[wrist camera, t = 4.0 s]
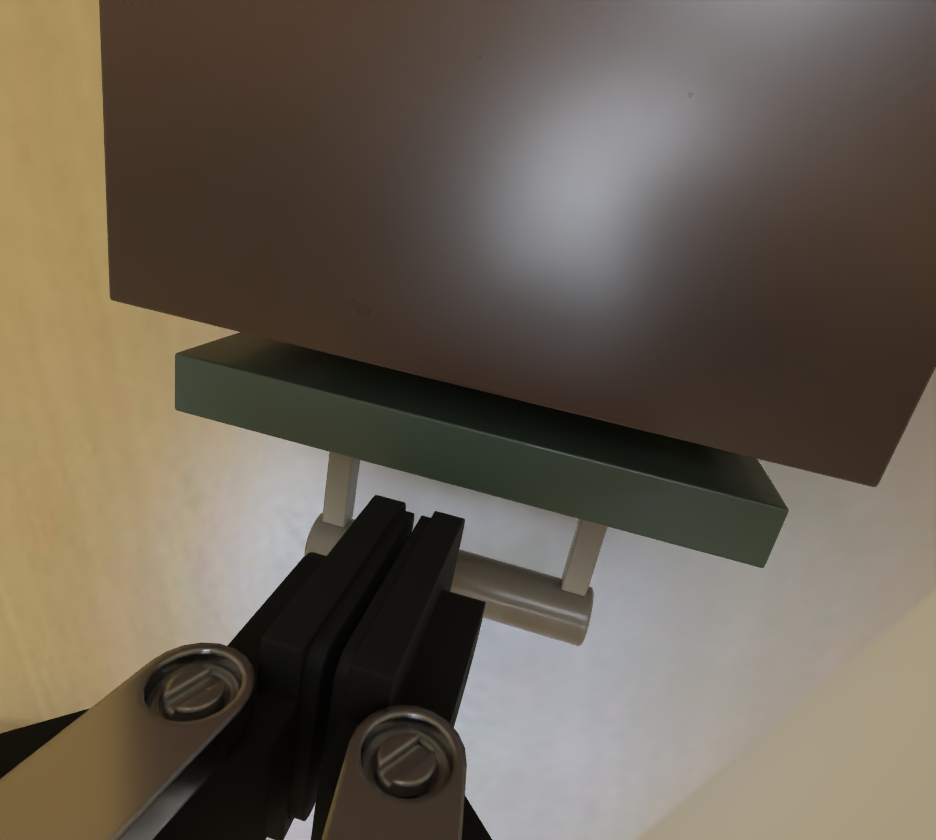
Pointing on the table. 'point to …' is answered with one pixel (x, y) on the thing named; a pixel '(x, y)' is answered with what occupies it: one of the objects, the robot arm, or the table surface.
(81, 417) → the table surface
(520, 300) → the cabinet
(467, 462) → the drawer
